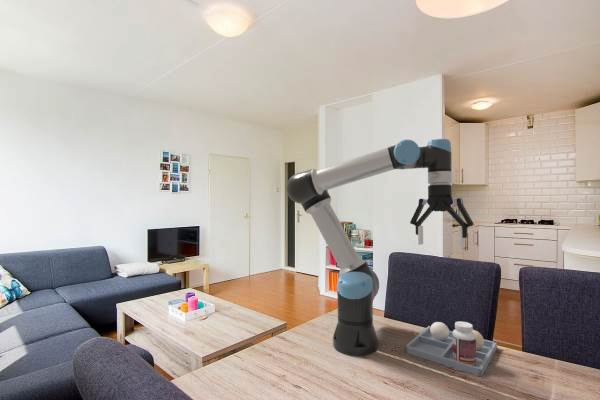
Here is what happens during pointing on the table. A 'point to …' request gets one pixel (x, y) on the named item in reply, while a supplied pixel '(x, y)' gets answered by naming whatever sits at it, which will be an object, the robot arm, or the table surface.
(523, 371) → the table surface
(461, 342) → the pill bottle
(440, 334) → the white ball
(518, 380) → the table surface
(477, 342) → the egg brown
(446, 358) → the divided tray
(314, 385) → the table surface
